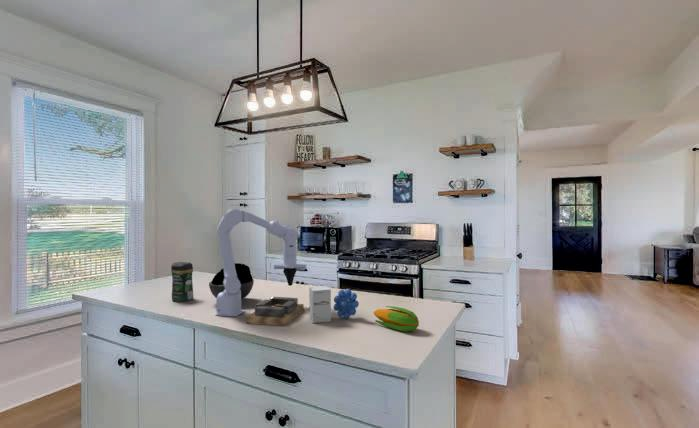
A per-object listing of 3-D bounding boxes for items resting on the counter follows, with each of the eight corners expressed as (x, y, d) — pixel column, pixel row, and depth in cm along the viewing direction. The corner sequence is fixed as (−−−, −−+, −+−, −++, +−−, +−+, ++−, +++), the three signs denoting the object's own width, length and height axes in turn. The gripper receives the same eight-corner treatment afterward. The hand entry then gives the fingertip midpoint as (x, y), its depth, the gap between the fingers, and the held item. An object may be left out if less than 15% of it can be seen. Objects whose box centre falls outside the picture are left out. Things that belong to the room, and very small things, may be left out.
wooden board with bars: (246, 323, 132) (245, 308, 132) (269, 308, 152) (269, 295, 152) (284, 325, 129) (284, 311, 129) (303, 310, 148) (303, 297, 148)
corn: (411, 313, 116) (367, 303, 130) (411, 336, 116) (366, 323, 130) (423, 310, 121) (379, 300, 135) (423, 332, 121) (378, 320, 135)
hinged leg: (268, 305, 147) (268, 298, 147) (271, 303, 150) (271, 296, 150) (294, 307, 144) (294, 299, 144) (297, 305, 147) (297, 297, 147)
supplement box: (312, 323, 130) (311, 290, 130) (309, 317, 138) (308, 286, 137) (331, 321, 132) (331, 289, 132) (327, 316, 140) (327, 285, 139)
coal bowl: (242, 309, 151) (241, 266, 151) (200, 307, 154) (199, 265, 154) (260, 297, 171) (260, 259, 171) (223, 296, 174) (222, 259, 174)
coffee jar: (168, 300, 167) (167, 262, 167) (182, 296, 174) (181, 260, 174) (183, 302, 163) (182, 263, 163) (196, 298, 170) (195, 261, 170)
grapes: (364, 317, 136) (363, 287, 136) (355, 322, 131) (355, 291, 131) (339, 313, 143) (339, 284, 142) (330, 318, 137) (330, 288, 137)
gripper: (271, 256, 151) (271, 287, 151) (303, 256, 150) (304, 287, 150) (276, 254, 158) (276, 283, 159) (307, 254, 157) (307, 283, 157)
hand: (290, 285), depth 155 cm, fingers closed
